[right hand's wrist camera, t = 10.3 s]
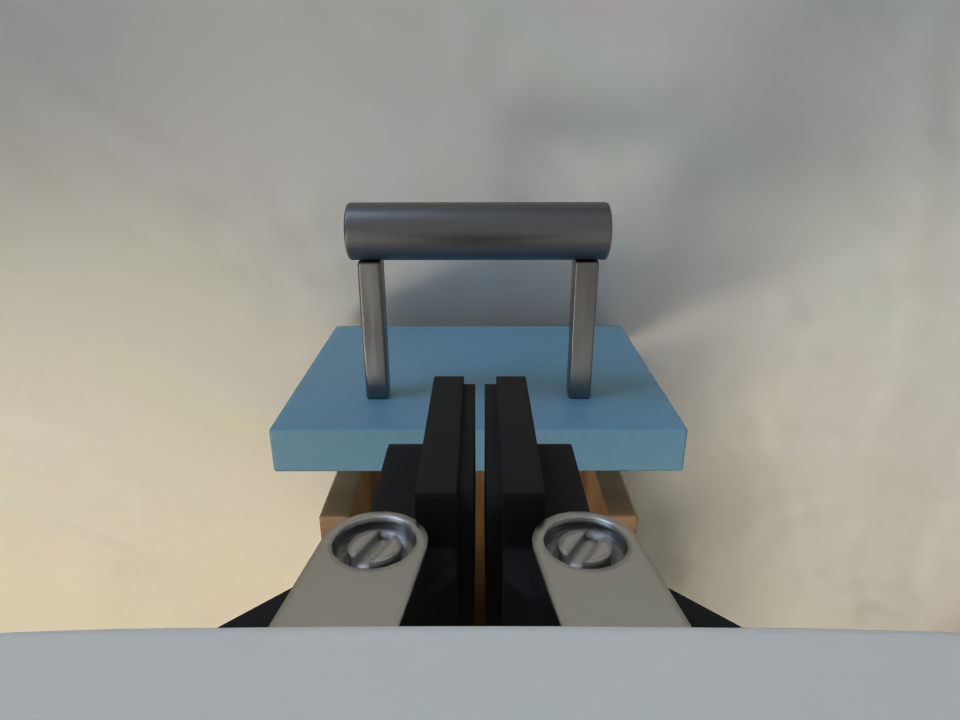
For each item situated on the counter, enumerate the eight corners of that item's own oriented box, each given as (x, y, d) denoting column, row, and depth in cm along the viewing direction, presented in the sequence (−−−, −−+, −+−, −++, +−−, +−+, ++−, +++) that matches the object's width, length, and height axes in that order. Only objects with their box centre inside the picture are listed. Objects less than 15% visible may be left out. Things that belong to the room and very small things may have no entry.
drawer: (323, 177, 22) (241, 215, 15) (632, 177, 22) (714, 215, 15) (369, 730, 31) (333, 937, 24) (589, 730, 31) (625, 937, 24)
